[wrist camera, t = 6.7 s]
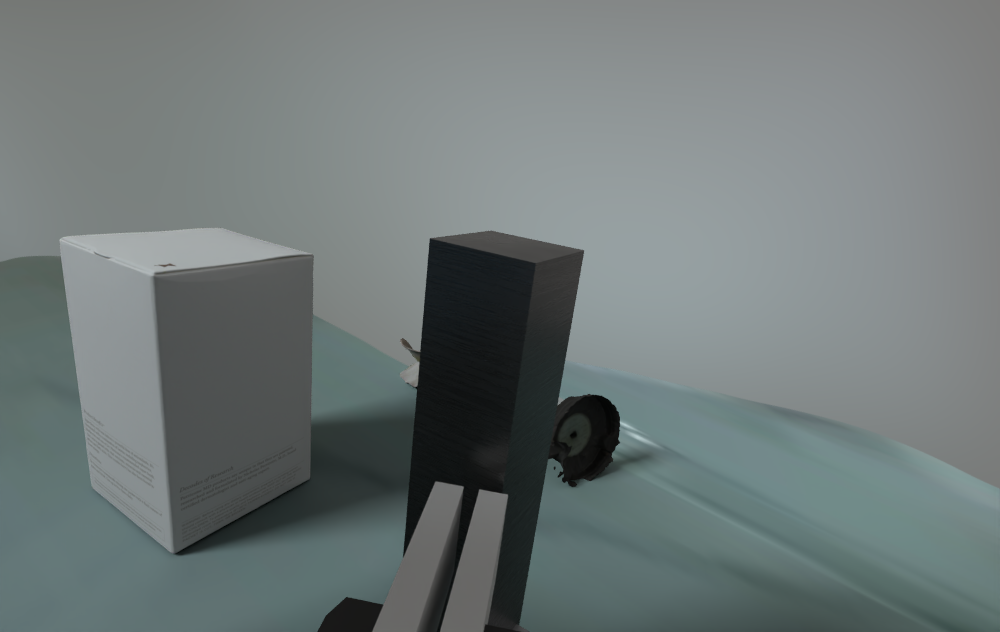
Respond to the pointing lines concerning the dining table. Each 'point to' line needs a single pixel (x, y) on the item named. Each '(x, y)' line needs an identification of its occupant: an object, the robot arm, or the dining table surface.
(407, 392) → the dining table surface
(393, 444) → the dining table surface
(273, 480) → the supplement box
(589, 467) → the artificial flower
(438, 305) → the round grey fixture
